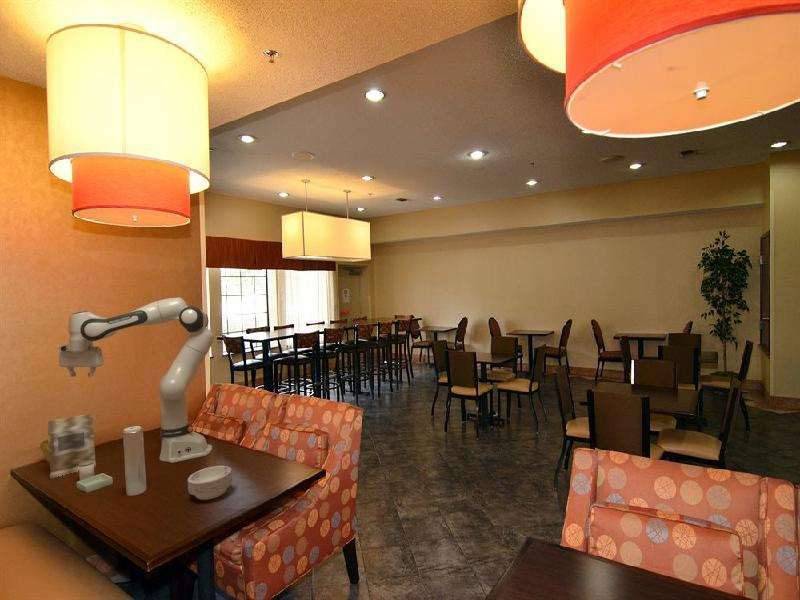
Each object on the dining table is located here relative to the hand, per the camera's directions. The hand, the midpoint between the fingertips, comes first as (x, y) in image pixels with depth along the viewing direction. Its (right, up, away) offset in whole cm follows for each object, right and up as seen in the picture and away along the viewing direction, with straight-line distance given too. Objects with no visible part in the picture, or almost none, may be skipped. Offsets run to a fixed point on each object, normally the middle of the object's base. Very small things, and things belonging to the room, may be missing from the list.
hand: (82, 376), depth 192 cm
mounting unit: (0, -41, -5) cm, 41 cm away
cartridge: (+14, -41, -16) cm, 46 cm away
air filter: (+45, -39, -31) cm, 67 cm away
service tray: (+23, -40, -24) cm, 52 cm away
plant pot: (-19, -42, +8) cm, 47 cm away
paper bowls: (+76, -38, -36) cm, 92 cm away
